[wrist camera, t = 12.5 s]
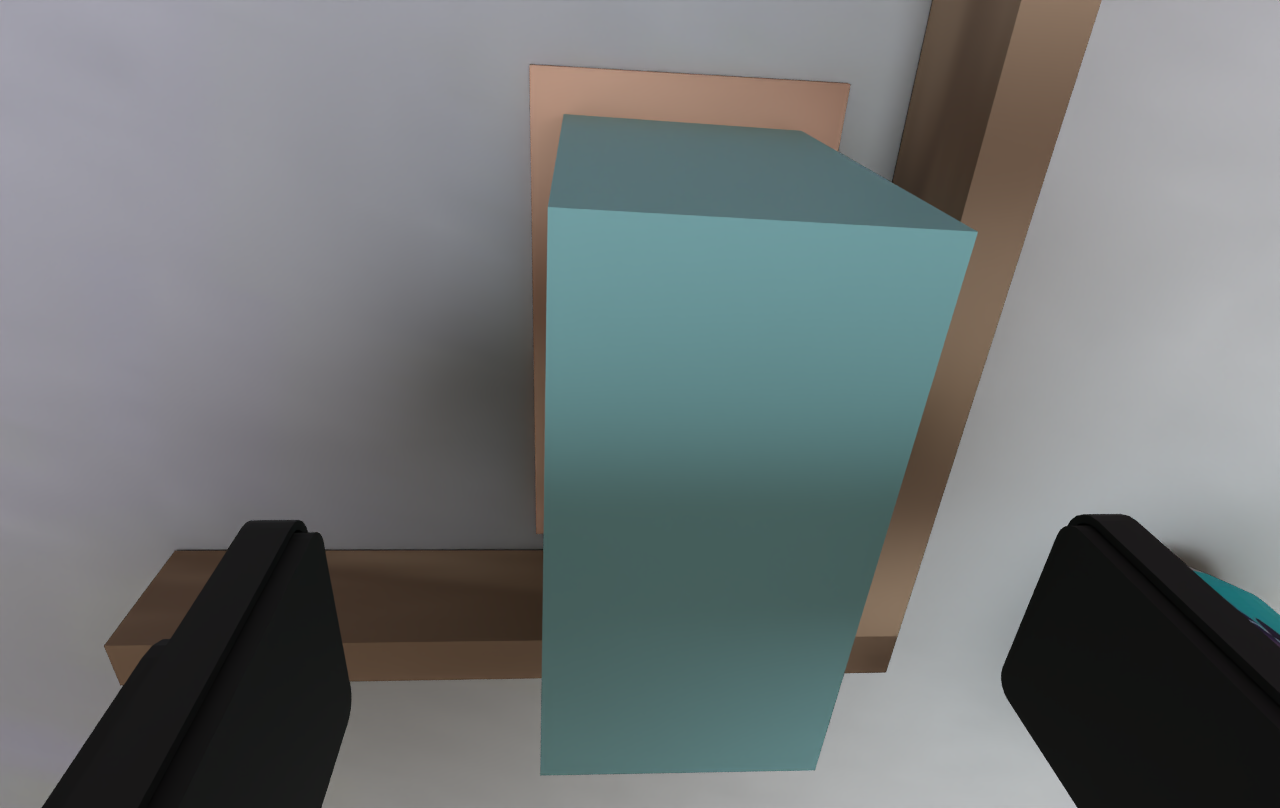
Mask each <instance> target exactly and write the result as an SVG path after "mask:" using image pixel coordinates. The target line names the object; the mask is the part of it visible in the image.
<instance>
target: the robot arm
mask: <svg viewBox="0 0 1280 808" xmlns="http://www.w3.org/2000/svg"><path fill="white" fill-rule="evenodd" d="M1001 682H1002V687H1003V690H1004V693H1005V695H1006V697H1007V699H1008V701H1009V702H1010V704H1011V706H1012V707H1013V709H1014V710H1015V712H1016V713H1017V715H1018V716H1019V718H1020V720H1021V721H1022V723H1023V724H1024V726H1025V727H1026V729H1027V730H1028V732H1029V733H1030V735H1031V737H1032V738H1033V740H1034V741H1035V743H1036V744H1037V746H1038V747H1039V749H1040V750H1041V752H1042V754H1043V755H1044V757H1045V758H1046V760H1047V761H1048V763H1049V764H1050V766H1051V767H1052V769H1053V771H1054V772H1055V774H1056V775H1057V777H1058V778H1059V780H1060V781H1061V783H1062V784H1063V786H1064V788H1065V789H1066V791H1067V792H1068V794H1069V795H1070V797H1071V798H1072V800H1073V801H1074V803H1075V805H1076V806H1077V808H1280V647H1279V646H1278V645H1277V644H1276V643H1274V642H1273V641H1272V640H1271V639H1270V638H1269V637H1268V636H1266V635H1265V634H1264V633H1263V632H1262V631H1261V630H1260V629H1259V628H1257V627H1256V626H1255V625H1254V624H1253V623H1252V622H1251V621H1249V620H1248V619H1247V618H1246V617H1245V616H1244V615H1243V614H1242V613H1240V612H1239V611H1238V610H1237V609H1236V608H1235V607H1234V606H1232V605H1231V604H1230V603H1229V602H1228V601H1227V600H1226V599H1225V598H1223V597H1222V596H1221V595H1220V594H1219V593H1218V592H1217V591H1215V590H1214V589H1213V588H1212V587H1211V586H1210V585H1209V584H1207V583H1206V582H1205V581H1204V580H1203V579H1202V578H1201V577H1200V576H1198V575H1197V574H1196V573H1195V572H1194V571H1193V570H1192V569H1190V568H1189V567H1188V566H1187V565H1186V564H1185V563H1184V562H1183V561H1181V560H1180V559H1179V558H1178V557H1177V556H1176V555H1175V554H1173V553H1172V552H1171V551H1170V550H1169V549H1168V548H1167V547H1166V546H1164V545H1163V544H1162V543H1161V542H1160V541H1159V540H1158V539H1156V538H1155V537H1154V536H1153V535H1152V534H1151V533H1150V532H1149V531H1147V530H1146V529H1145V528H1144V527H1143V526H1142V525H1141V524H1139V523H1138V522H1137V521H1136V520H1134V519H1133V518H1131V517H1130V516H1127V515H1122V514H1083V515H1078V516H1076V517H1075V518H1073V519H1072V520H1071V521H1070V523H1069V524H1068V526H1065V527H1064V528H1062V529H1061V530H1060V531H1059V533H1058V535H1057V537H1056V539H1055V542H1054V544H1053V547H1052V549H1051V551H1050V554H1049V556H1048V559H1047V561H1046V564H1045V566H1044V568H1043V571H1042V573H1041V576H1040V578H1039V581H1038V583H1037V585H1036V588H1035V590H1034V593H1033V595H1032V598H1031V600H1030V602H1029V605H1028V607H1027V610H1026V612H1025V615H1024V617H1023V619H1022V622H1021V624H1020V627H1019V629H1018V632H1017V634H1016V636H1015V639H1014V641H1013V644H1012V646H1011V649H1010V651H1009V654H1008V656H1007V658H1006V661H1005V663H1004V666H1003V668H1002V672H1001ZM350 710H351V686H350V681H349V676H348V670H347V665H346V660H345V654H344V649H343V644H342V638H341V633H340V627H339V622H338V617H337V611H336V606H335V601H334V595H333V590H332V585H331V579H330V574H329V569H328V563H327V558H326V553H325V547H324V542H323V539H322V536H321V535H320V533H317V532H315V533H308V531H307V528H306V526H305V524H304V523H303V522H302V521H300V520H258V521H249V522H247V523H245V525H244V526H243V527H242V528H241V530H240V531H239V533H238V534H237V536H236V537H235V539H234V540H233V542H232V544H231V545H230V547H229V548H228V550H227V551H226V553H225V554H224V556H223V558H222V559H221V561H220V562H219V564H218V565H217V567H216V568H215V570H214V572H213V573H212V575H211V576H210V578H209V579H208V581H207V582H206V584H205V586H204V587H203V589H202V590H201V592H200V593H199V595H198V596H197V598H196V600H195V601H194V603H193V604H192V606H191V607H190V609H189V611H188V612H187V614H186V615H185V617H184V618H183V620H182V621H181V623H180V625H179V626H178V628H177V629H176V631H175V632H174V634H173V635H172V637H171V639H162V640H160V641H159V642H157V643H156V644H154V645H152V646H151V648H150V649H149V650H148V651H147V652H146V654H145V655H144V656H143V657H142V658H141V660H140V661H139V663H138V664H137V666H136V667H135V669H134V670H133V672H132V673H131V675H130V676H129V678H128V679H127V681H126V682H125V684H124V685H123V687H122V688H121V690H120V691H119V693H118V694H117V696H116V697H115V699H114V700H113V702H112V703H111V705H110V706H109V708H108V709H107V711H106V712H105V714H104V715H103V717H102V718H101V720H100V721H99V723H98V724H97V726H96V727H95V729H94V730H93V732H92V733H91V735H90V736H89V738H88V739H87V741H86V742H85V744H84V745H83V747H82V748H81V750H80V751H79V753H78V754H77V756H76V757H75V759H74V760H73V762H72V763H71V765H70V766H69V768H68V769H67V771H66V772H65V774H64V775H63V777H62V778H61V780H60V781H59V783H58V784H57V786H56V787H55V789H54V790H53V792H52V793H51V795H50V796H49V798H48V799H47V801H46V802H45V804H44V805H43V807H42V808H321V807H322V804H323V801H324V797H325V794H326V791H327V788H328V785H329V781H330V778H331V775H332V772H333V769H334V765H335V762H336V759H337V756H338V753H339V749H340V746H341V743H342V740H343V737H344V733H345V730H346V727H347V724H348V720H349V716H350Z"/></svg>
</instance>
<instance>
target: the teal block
mask: <svg viewBox="0 0 1280 808" xmlns="http://www.w3.org/2000/svg"><path fill="white" fill-rule="evenodd" d="M977 233H978V232H977V231H976V230H974V229H972V228H970V227H969V226H967V225H965V224H963V223H962V222H960V221H958V220H956V219H955V218H953V217H951V216H949V215H948V214H946V213H944V212H942V211H941V210H939V209H937V208H935V207H934V206H932V205H930V204H928V203H927V202H925V201H923V200H921V199H920V198H918V197H916V196H914V195H913V194H911V193H909V192H907V191H906V190H904V189H902V188H900V187H899V186H897V185H895V184H894V183H892V182H890V181H888V180H887V179H885V178H883V177H881V176H880V175H878V174H876V173H874V172H873V171H871V170H869V169H867V168H866V167H864V166H862V165H860V164H859V163H857V162H855V161H853V160H852V159H850V158H848V157H846V156H845V155H843V154H841V153H839V152H838V151H836V150H834V149H832V148H831V147H829V146H827V145H825V144H824V143H822V142H820V141H818V140H817V139H815V138H813V137H811V136H810V135H808V134H806V133H804V132H803V131H798V130H784V129H770V128H756V127H741V126H727V125H713V124H699V123H684V122H670V121H656V120H642V119H627V118H613V117H599V116H585V115H570V114H564V115H563V121H562V127H561V132H560V138H559V144H558V150H557V156H556V162H555V167H554V173H553V179H552V185H551V191H550V197H549V203H548V224H547V302H546V381H545V459H544V537H543V615H542V694H541V772H540V775H589V774H642V773H695V772H748V771H801V770H815V768H816V765H817V761H818V758H819V755H820V751H821V748H822V745H823V742H824V738H825V735H826V732H827V728H828V725H829V722H830V718H831V715H832V712H833V709H834V705H835V702H836V699H837V695H838V692H839V689H840V685H841V682H842V679H843V676H844V672H845V669H846V666H847V662H848V659H849V656H850V652H851V649H852V646H853V643H854V639H855V636H856V633H857V629H858V626H859V623H860V619H861V616H862V613H863V610H864V606H865V603H866V600H867V596H868V593H869V590H870V586H871V583H872V580H873V577H874V573H875V570H876V567H877V563H878V560H879V557H880V553H881V550H882V547H883V544H884V540H885V537H886V534H887V530H888V527H889V524H890V520H891V517H892V514H893V511H894V507H895V504H896V501H897V497H898V494H899V491H900V487H901V484H902V481H903V478H904V474H905V471H906V468H907V464H908V461H909V458H910V455H911V451H912V448H913V445H914V441H915V438H916V435H917V431H918V428H919V425H920V422H921V418H922V415H923V412H924V408H925V405H926V402H927V398H928V395H929V392H930V389H931V385H932V382H933V379H934V375H935V372H936V369H937V365H938V362H939V359H940V356H941V352H942V349H943V346H944V342H945V339H946V336H947V332H948V329H949V326H950V323H951V319H952V316H953V313H954V309H955V306H956V303H957V299H958V296H959V293H960V290H961V286H962V283H963V280H964V276H965V273H966V270H967V266H968V263H969V260H970V257H971V253H972V250H973V247H974V243H975V240H976V237H977Z"/></svg>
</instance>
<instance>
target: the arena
mask: <svg viewBox="0 0 1280 808" xmlns="http://www.w3.org/2000/svg"><path fill="white" fill-rule="evenodd" d="M1100 4H1101V0H933V2H932V6H931V11H930V15H929V20H928V24H927V29H926V33H925V38H924V42H923V47H922V51H921V56H920V60H919V65H918V69H917V74H916V78H915V83H914V87H913V92H912V96H911V101H910V105H909V110H908V114H907V119H906V123H905V128H904V132H903V137H902V141H901V146H900V150H899V155H898V159H897V164H896V168H895V173H894V177H893V182H892V183H894V184H895V185H897V186H899V187H900V188H902V189H904V190H906V191H907V192H909V193H911V194H913V195H914V196H916V197H918V198H920V199H921V200H923V201H925V202H927V203H928V204H930V205H932V206H934V207H935V208H937V209H939V210H941V211H942V212H944V213H946V214H948V215H949V216H951V217H953V218H955V219H956V220H958V221H960V222H962V223H963V224H965V225H967V226H969V227H970V228H972V229H974V230H976V231H977V232H978V233H977V237H976V240H975V243H974V247H973V250H972V253H971V257H970V260H969V263H968V266H967V270H966V273H965V276H964V280H963V283H962V286H961V290H960V293H959V296H958V299H957V303H956V306H955V309H954V313H953V316H952V319H951V323H950V326H949V329H948V332H947V336H946V339H945V342H944V346H943V349H942V352H941V356H940V359H939V362H938V365H937V369H936V372H935V375H934V379H933V382H932V385H931V389H930V392H929V395H928V398H927V402H926V405H925V408H924V412H923V415H922V418H921V422H920V425H919V428H918V431H917V435H916V438H915V441H914V445H913V448H912V451H911V455H910V458H909V461H908V464H907V468H906V471H905V474H904V478H903V481H902V484H901V487H900V491H899V494H898V497H897V501H896V504H895V507H894V511H893V514H892V517H891V520H890V524H889V527H888V530H887V534H886V537H885V540H884V544H883V547H882V550H881V553H880V557H879V560H878V563H877V567H876V570H875V573H874V577H873V580H872V583H871V586H870V590H869V593H868V596H867V600H866V603H865V606H864V610H863V613H862V616H861V619H860V623H859V626H858V629H857V633H856V636H855V639H854V643H853V646H852V649H851V652H850V656H849V659H848V662H847V666H846V669H845V672H844V673H881V672H886V671H887V667H888V664H889V661H890V658H891V655H892V652H893V649H894V646H895V642H896V639H897V636H898V633H899V630H900V627H901V624H902V621H903V618H904V614H905V611H906V608H907V605H908V602H909V599H910V596H911V593H912V590H913V586H914V583H915V580H916V577H917V574H918V571H919V568H920V565H921V561H922V558H923V555H924V552H925V549H926V546H927V543H928V540H929V537H930V533H931V530H932V527H933V524H934V521H935V518H936V515H937V512H938V508H939V505H940V502H941V499H942V496H943V493H944V490H945V487H946V484H947V480H948V477H949V474H950V471H951V468H952V465H953V462H954V459H955V455H956V452H957V449H958V446H959V443H960V440H961V437H962V434H963V431H964V427H965V424H966V421H967V418H968V415H969V412H970V409H971V406H972V402H973V399H974V396H975V393H976V390H977V387H978V384H979V381H980V378H981V374H982V371H983V368H984V365H985V362H986V359H987V356H988V353H989V350H990V346H991V343H992V340H993V337H994V334H995V331H996V328H997V325H998V321H999V318H1000V315H1001V312H1002V309H1003V306H1004V303H1005V300H1006V297H1007V293H1008V290H1009V287H1010V284H1011V281H1012V278H1013V275H1014V272H1015V268H1016V265H1017V262H1018V259H1019V256H1020V253H1021V250H1022V247H1023V244H1024V240H1025V237H1026V234H1027V231H1028V228H1029V225H1030V222H1031V219H1032V215H1033V212H1034V209H1035V206H1036V203H1037V200H1038V197H1039V194H1040V191H1041V187H1042V184H1043V181H1044V178H1045V175H1046V172H1047V169H1048V166H1049V162H1050V159H1051V156H1052V153H1053V150H1054V147H1055V144H1056V141H1057V138H1058V134H1059V131H1060V128H1061V125H1062V122H1063V119H1064V116H1065V113H1066V110H1067V106H1068V103H1069V100H1070V97H1071V94H1072V91H1073V88H1074V85H1075V81H1076V78H1077V75H1078V72H1079V69H1080V66H1081V63H1082V60H1083V57H1084V53H1085V50H1086V47H1087V44H1088V41H1089V38H1090V35H1091V32H1092V28H1093V25H1094V22H1095V19H1096V16H1097V13H1098V10H1099V7H1100ZM849 90H850V84H848V83H837V82H820V81H803V80H786V79H769V78H752V77H736V76H719V75H702V74H685V73H668V72H651V71H634V70H617V69H600V68H583V67H566V66H550V65H533V64H530V134H531V205H532V277H533V348H534V420H535V491H536V534H544V459H545V381H546V302H547V224H548V203H549V197H550V191H551V185H552V179H553V173H554V167H555V162H556V156H557V150H558V144H559V138H560V132H561V127H562V121H563V115H564V114H570V115H585V116H599V117H613V118H627V119H642V120H656V121H670V122H684V123H699V124H713V125H727V126H741V127H756V128H770V129H784V130H798V131H803V132H804V133H806V134H808V135H810V136H811V137H813V138H815V139H817V140H818V141H820V142H822V143H824V144H825V145H827V146H829V147H831V148H832V149H834V150H836V151H838V150H839V144H840V139H841V133H842V128H843V122H844V117H845V111H846V106H847V101H848V95H849ZM225 553H226V551H174V553H173V554H172V555H171V557H170V558H169V559H168V561H167V562H166V563H165V565H164V566H163V567H162V569H161V570H160V571H159V573H158V574H157V575H156V577H155V578H154V579H153V581H152V582H151V583H150V585H149V586H148V587H147V589H146V590H145V591H144V593H143V594H142V595H141V597H140V598H139V599H138V601H137V602H136V604H135V605H134V606H133V608H132V609H131V610H130V612H129V613H128V614H127V616H126V617H125V618H124V620H123V621H122V622H121V624H120V625H119V626H118V628H117V629H116V630H115V632H114V633H113V634H112V636H111V637H110V638H109V640H108V641H107V642H106V644H105V645H104V647H105V650H106V652H107V654H108V657H109V659H110V661H111V664H112V666H113V669H114V671H115V673H116V676H117V678H118V680H119V683H120V685H124V684H125V682H126V681H127V679H128V678H129V676H130V675H131V673H132V672H133V670H134V669H135V667H136V666H137V664H138V663H139V661H140V660H141V658H142V657H143V656H144V655H145V654H146V652H147V651H148V650H149V649H150V648H151V646H152V645H154V644H156V643H157V642H159V641H160V640H162V639H171V637H172V635H173V634H174V632H175V631H176V629H177V628H178V626H179V625H180V623H181V621H182V620H183V618H184V617H185V615H186V614H187V612H188V611H189V609H190V607H191V606H192V604H193V603H194V601H195V600H196V598H197V596H198V595H199V593H200V592H201V590H202V589H203V587H204V586H205V584H206V582H207V581H208V579H209V578H210V576H211V575H212V573H213V572H214V570H215V568H216V567H217V565H218V564H219V562H220V561H221V559H222V558H223V556H224V554H225ZM325 553H326V558H327V563H328V569H329V574H330V579H331V585H332V590H333V595H334V601H335V606H336V611H337V617H338V622H339V627H340V633H341V638H342V644H343V649H344V654H345V660H346V665H347V670H348V676H349V681H404V680H464V679H523V678H542V615H543V550H386V551H325Z"/></svg>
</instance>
